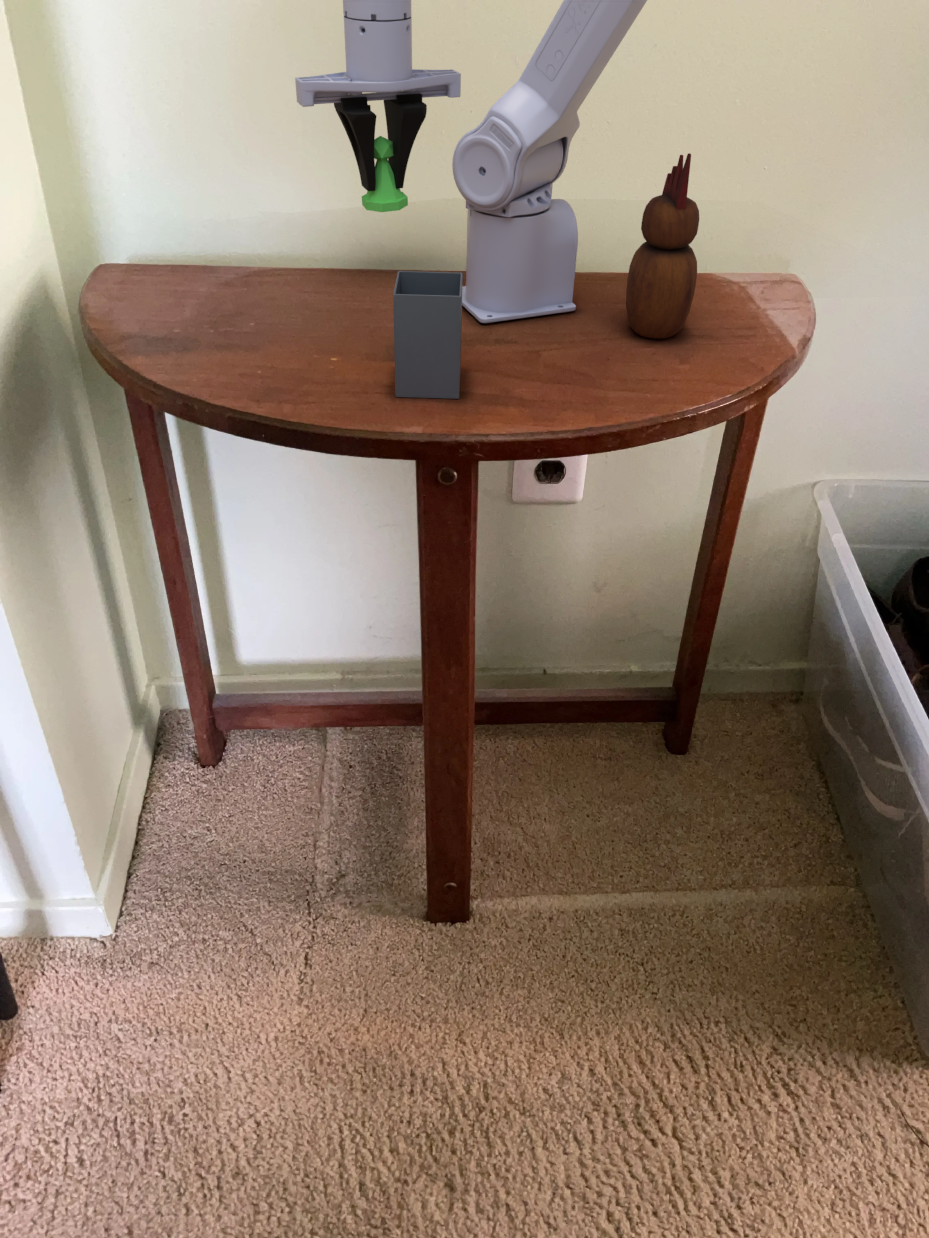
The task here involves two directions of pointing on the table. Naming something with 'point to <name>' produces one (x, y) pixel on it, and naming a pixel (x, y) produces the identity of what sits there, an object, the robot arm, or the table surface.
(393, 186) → the game piece
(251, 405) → the table surface
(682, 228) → the wooden figurine
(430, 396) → the bin
